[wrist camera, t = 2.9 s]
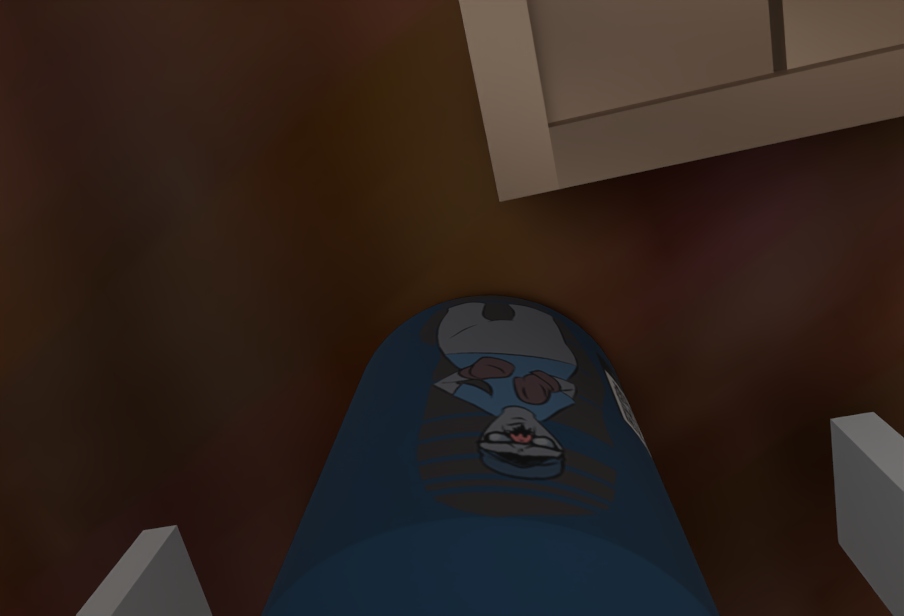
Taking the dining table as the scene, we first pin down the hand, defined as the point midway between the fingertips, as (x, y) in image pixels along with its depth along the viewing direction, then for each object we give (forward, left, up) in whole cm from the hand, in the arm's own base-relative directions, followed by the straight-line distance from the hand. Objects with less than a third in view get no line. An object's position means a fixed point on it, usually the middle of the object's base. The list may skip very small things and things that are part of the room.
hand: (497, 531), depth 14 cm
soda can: (0, 0, -6) cm, 6 cm away
